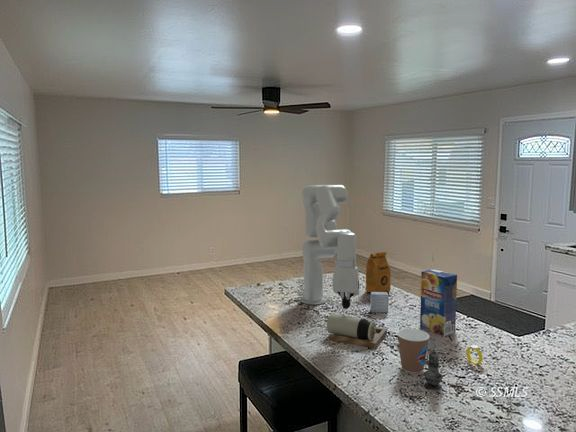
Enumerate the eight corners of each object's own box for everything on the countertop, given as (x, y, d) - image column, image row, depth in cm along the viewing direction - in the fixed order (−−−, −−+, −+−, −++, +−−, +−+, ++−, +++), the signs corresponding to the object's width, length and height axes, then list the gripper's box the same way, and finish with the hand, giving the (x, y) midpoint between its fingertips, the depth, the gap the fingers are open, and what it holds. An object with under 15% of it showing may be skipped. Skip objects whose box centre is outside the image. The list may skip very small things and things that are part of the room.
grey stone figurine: (419, 381, 134) (420, 345, 133) (437, 381, 135) (439, 344, 133) (427, 391, 128) (428, 353, 127) (446, 390, 129) (447, 352, 127)
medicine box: (387, 309, 203) (387, 292, 202) (388, 312, 198) (388, 294, 197) (370, 309, 203) (370, 291, 202) (371, 312, 199) (371, 294, 198)
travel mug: (330, 336, 174) (372, 345, 165) (324, 328, 168) (367, 337, 159) (336, 318, 178) (377, 326, 169) (330, 309, 172) (372, 317, 163)
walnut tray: (329, 339, 168) (329, 334, 167) (343, 326, 182) (343, 321, 181) (375, 348, 159) (375, 343, 159) (386, 333, 173) (386, 329, 173)
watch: (464, 360, 149) (464, 344, 149) (470, 359, 150) (470, 342, 150) (478, 366, 144) (477, 349, 143) (484, 365, 145) (484, 348, 144)
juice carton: (455, 332, 174) (457, 274, 172) (443, 336, 170) (445, 277, 168) (431, 323, 184) (433, 269, 182) (419, 326, 180) (421, 271, 178)
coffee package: (393, 292, 230) (393, 252, 227) (374, 296, 224) (375, 255, 222) (381, 288, 239) (381, 249, 236) (363, 291, 233) (363, 251, 231)
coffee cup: (423, 378, 136) (425, 342, 135) (392, 371, 141) (393, 336, 140) (431, 366, 145) (432, 332, 143) (401, 359, 150) (402, 326, 149)
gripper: (325, 263, 170) (325, 308, 172) (361, 267, 163) (361, 313, 165) (332, 259, 176) (332, 302, 178) (367, 263, 169) (366, 307, 171)
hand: (346, 307), depth 172 cm, fingers closed
